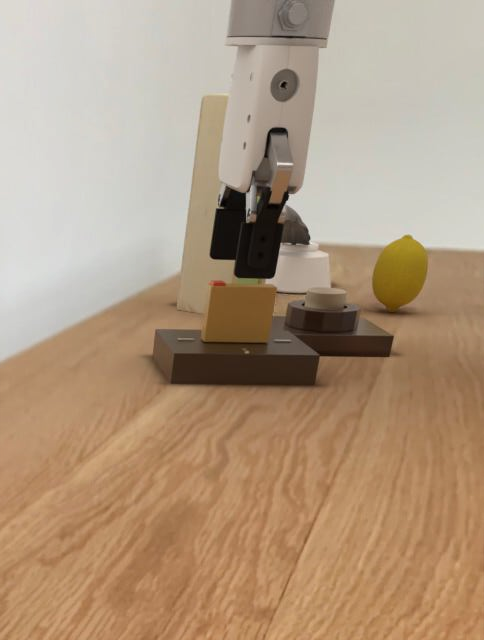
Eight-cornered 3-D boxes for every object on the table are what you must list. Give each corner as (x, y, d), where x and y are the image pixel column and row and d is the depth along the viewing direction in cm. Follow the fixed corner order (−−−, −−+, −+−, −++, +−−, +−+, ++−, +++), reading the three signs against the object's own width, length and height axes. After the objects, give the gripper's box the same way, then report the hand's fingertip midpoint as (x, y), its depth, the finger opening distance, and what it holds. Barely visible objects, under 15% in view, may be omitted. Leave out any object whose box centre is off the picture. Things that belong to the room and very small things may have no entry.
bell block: (358, 340, 111) (367, 297, 109) (389, 360, 103) (398, 315, 101) (248, 338, 111) (255, 296, 109) (270, 358, 103) (278, 313, 101)
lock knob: (263, 339, 96) (273, 280, 93) (268, 343, 95) (277, 283, 92) (200, 338, 96) (208, 279, 94) (204, 342, 95) (211, 283, 92)
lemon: (417, 318, 121) (435, 239, 117) (364, 314, 123) (380, 236, 118) (417, 310, 125) (435, 233, 121) (366, 306, 127) (381, 230, 123)
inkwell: (338, 285, 139) (355, 197, 134) (304, 308, 126) (321, 211, 120) (265, 279, 143) (278, 193, 138) (224, 300, 130) (237, 206, 124)
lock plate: (282, 365, 101) (289, 328, 99) (313, 392, 92) (320, 353, 91) (151, 363, 101) (155, 327, 100) (169, 390, 93) (174, 351, 91)
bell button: (336, 306, 107) (340, 287, 106) (348, 313, 104) (352, 294, 103) (299, 306, 107) (302, 287, 106) (309, 313, 104) (313, 293, 103)
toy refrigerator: (233, 319, 120) (265, 94, 109) (174, 310, 124) (200, 93, 113) (268, 310, 125) (303, 94, 114) (211, 301, 129) (239, 92, 118)
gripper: (364, 22, 76) (313, 287, 85) (297, 29, 91) (260, 254, 100) (255, 19, 76) (216, 284, 85) (206, 26, 91) (177, 252, 100)
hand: (240, 268), depth 92 cm, fingers open, 9 cm apart
